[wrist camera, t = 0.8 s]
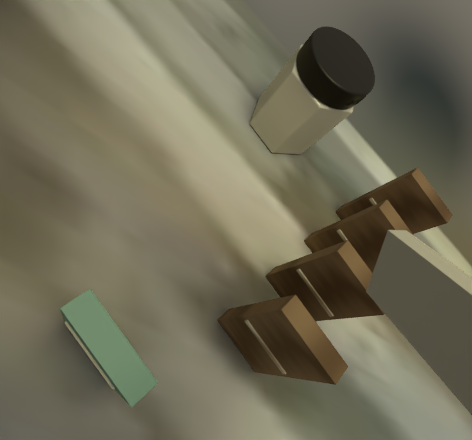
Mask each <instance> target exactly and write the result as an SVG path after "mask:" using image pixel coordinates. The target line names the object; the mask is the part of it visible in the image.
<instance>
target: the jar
mask: <svg viewBox="0 0 472 440" xmlns="http://www.w3.org/2000/svg"><path fill="white" fill-rule="evenodd" d="M374 83H375V75H374V70H373V67H372V64H371V62H370V60H369V58H368V56H367V54H366V53H365V52H364V50H363V49H362V48H361V46H360V45H359V44H358V43H357V42H356V41H355V40H354V39H353V38H351V37H350V36H349V35H347V34H346V33H344V32H342V31H341V30H338V29H336V28H333V27H321V28H318V29H316V30H315V31H314V32H313V33H312V35H311V36H310V37H309V39H308V40H307V41H306V42H305V44H304V45H303V44H302V45H300V46H299V47H298V49H297V50H296V51H295V53H294V54H293V55H292V56H291V58H290V59H289V60H288V62H287V63H286V64H285V66H284V67H283V68H282V69H281V71H280V72H279V73H278V75H277V76H276V77H275V79H274V80H273V81H272V82H271V84H270V85H269V86H268V88H267V89H266V90H265V92H264V93H263V94H262V96H261V97H260V98H259V100H258V103H257V105H256V108H255V111H254V114H253V116H252V119H251V122H250V125H251V126H252V127H253V129H254V130H255V131H256V133H257V134H258V135H259V137H260V138H261V139H262V141H263V142H264V143H265V144H266V146H267V147H268V148H269V150H270V151H271V152H272V153H283V154H302V153H303V152H305V151H306V150H307V149H308V148H310V147H311V146H312V145H313V144H314V143H316V142H317V141H318V140H319V139H321V138H322V137H323V136H324V135H325V134H327V133H328V132H329V131H330V130H331V129H333V128H334V127H335V126H336V125H338V124H339V123H340V122H341V121H342V120H344V119H345V118H346V117H347V116H348V115H350V114H351V113H352V112H353V107H354V105H356V104H357V103H359V102H360V101H361V100H362V99H363V98H364V97H366V95H367V94H368V93H369V92H370V91H371V90H372V89H373V86H374Z"/></svg>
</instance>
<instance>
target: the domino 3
mask: <svg viewBox="0 0 472 440" xmlns="http://www.w3.org/2000/svg"><path fill="white" fill-rule="evenodd" d="M218 322H219V323H220V324H221V326H222V327H223V328H224V330H225V331H226V333H227V334H228V335H229V337H230V338H231V339H232V341H233V342H234V344H235V345H236V346H237V348H238V349H239V350H240V352H241V353H242V355H243V356H244V357H245V359H246V360H247V361H248V363H249V364H250V366H251V367H252V368H253V370H254V371H255V372H258V373H264V374H271V375H277V376H284V377H290V378H297V379H303V380H310V381H316V382H322V383H329V384H335V385H336V383H337V382H338V381H339V379H340V378H341V376H342V375H343V373H344V372H345V370H346V369H347V367H348V366H347V364H346V363H345V361H344V360H343V359H342V357H341V356H340V355H339V353H338V352H337V350H336V349H335V348H334V346H333V345H332V344H331V342H330V341H329V339H328V338H327V337H326V335H325V334H324V333H323V331H322V330H321V329H320V327H319V326H318V324H317V323H316V322H315V320H314V319H313V318H312V316H311V315H310V313H309V312H308V311H307V309H306V308H305V307H304V305H303V304H302V302H301V301H300V300H299V298H298V297H297V296H296V295H291V296H287V297H282V298H278V299H273V300H269V301H264V302H259V303H255V304H250V305H246V306H241V307H237V308H232V309H229V310H228V311H227V312H226V313H225V314H223V315H222V316H221V317H220V318H219V319H218Z"/></svg>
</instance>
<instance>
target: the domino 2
mask: <svg viewBox="0 0 472 440" xmlns="http://www.w3.org/2000/svg"><path fill="white" fill-rule="evenodd" d="M372 274H373V273H372V272H371V271H370V269H369V268H368V267H367V265H366V264H365V262H364V261H363V260H362V258H361V257H360V256H359V254H358V253H357V252H356V250H355V249H354V247H353V246H352V245H351V243H350V242H349V241H348V240H347V241H344V242H341V243H339V244H336V245H333V246H331V247H328V248H325V249H323V250H320V251H317V252H315V253H312V254H309V255H307V256H304V257H301V258H299V259H296V260H293V261H291V262H288V263H285V264H283V265H280V266H277V267H275V268H274V269H273V270H272V271H270V272H269V273H268V274H267V275H266V278H267V279H268V280H269V282H270V283H271V285H272V286H273V287H274V289H275V290H276V291H277V293H278V294H279V296H280V297H281V298H282V297H287V296H291V295H296V296H297V297H298V298H299V300H300V301H301V302H302V304H303V305H304V307H305V308H306V309H307V311H308V312H309V313H310V315H311V316H312V318H313V319H314V320H315V321H321V320H332V319H343V318H353V317H364V316H375V315H384V314H385V313H384V312H383V311H382V310H381V309H380V307H379V306H378V305H377V304H376V303H375V302H374V300H373V299H372V298H371V297H370V296H369V295H368V293H367V292H366V291H367V288H368V285H369V282H370V279H371V276H372Z"/></svg>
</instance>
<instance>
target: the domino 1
mask: <svg viewBox="0 0 472 440" xmlns="http://www.w3.org/2000/svg"><path fill="white" fill-rule="evenodd" d="M388 230H407V231H408V232H409V233H411V234H412V232H411V231H410V230H409V228H408V227H407V226H406V224H405V223H404V221H403V220H402V219H401V217H400V216H399V215H398V213H397V212H396V211H395V209H394V208H393V206H392V205H391V204H390V202H389V201H388V200H384V201H382V202H380V203H378V204H376V205H373V206H371V207H369V208H367V209H365V210H362V211H360V212H358V213H356V214H354V215H352V216H349V217H347V218H345V219H343V220H341V221H338V222H336V223H334V224H332V225H330V226H327V227H325V228H323V229H321V230H319V231H316V232H314V233H312V234H311V235H310V236H309V237H308V238H306V239H305V240H304V242H305V243H306V244H307V246H308V247H309V249H310V250H311V251H312V253H315V252H317V251H320V250H323V249H325V248H328V247H331V246H333V245H336V244H339V243H341V242H344V241H347V240H348V241H349V242H350V243H351V245H352V246H353V247H354V249H355V250H356V252H357V253H358V254H359V256H360V257H361V258H362V260H363V261H364V262H365V264H366V265H367V267H368V268H369V269H370V271H371V272H372V273H373V271H374V268H375V265H376V262H377V259H378V257H379V254H380V251H381V248H382V245H383V243H384V240H385V237H386V234H387V231H388ZM412 235H413V234H412Z"/></svg>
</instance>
